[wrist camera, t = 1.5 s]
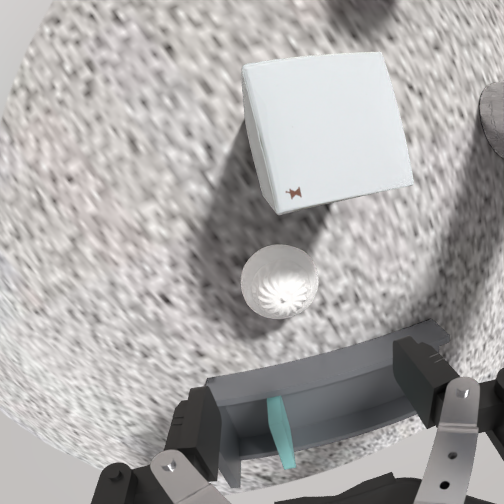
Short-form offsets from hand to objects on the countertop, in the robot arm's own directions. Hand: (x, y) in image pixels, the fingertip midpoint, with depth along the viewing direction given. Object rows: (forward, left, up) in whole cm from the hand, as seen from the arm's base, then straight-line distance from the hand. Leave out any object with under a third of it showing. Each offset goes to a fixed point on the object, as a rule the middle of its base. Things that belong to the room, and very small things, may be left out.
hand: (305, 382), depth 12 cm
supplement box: (-4, -10, -16) cm, 19 cm away
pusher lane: (-3, +15, -16) cm, 22 cm away
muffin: (0, 0, -16) cm, 16 cm away
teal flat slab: (+3, +15, -15) cm, 21 cm away
